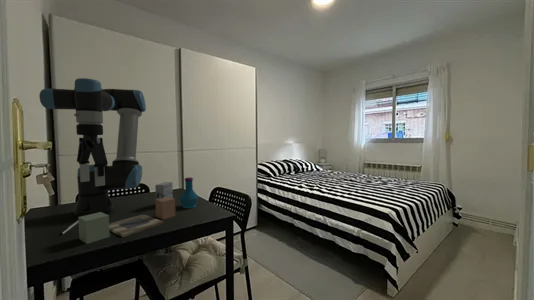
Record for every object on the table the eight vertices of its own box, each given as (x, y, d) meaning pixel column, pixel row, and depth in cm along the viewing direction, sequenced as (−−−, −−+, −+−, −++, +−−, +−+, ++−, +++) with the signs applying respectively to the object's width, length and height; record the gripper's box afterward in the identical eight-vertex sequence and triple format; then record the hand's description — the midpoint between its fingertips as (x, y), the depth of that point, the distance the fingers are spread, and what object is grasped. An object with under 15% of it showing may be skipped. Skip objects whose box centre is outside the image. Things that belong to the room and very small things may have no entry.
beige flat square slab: (104, 227, 95) (103, 224, 95) (143, 216, 108) (143, 214, 108) (122, 237, 86) (122, 234, 86) (163, 223, 99) (163, 221, 99)
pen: (58, 236, 87) (57, 234, 87) (81, 219, 105) (80, 217, 105) (61, 236, 87) (60, 233, 87) (83, 219, 105) (83, 216, 105)
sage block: (79, 238, 85) (78, 217, 84) (101, 232, 90) (100, 212, 90) (86, 244, 81) (85, 221, 80) (109, 236, 86) (108, 215, 86)
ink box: (165, 202, 131) (164, 181, 130) (173, 202, 130) (173, 181, 129) (155, 206, 123) (154, 184, 122) (163, 207, 122) (163, 185, 121)
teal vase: (191, 202, 130) (190, 175, 129) (202, 205, 125) (201, 177, 124) (176, 206, 123) (175, 178, 122) (187, 210, 117) (186, 180, 117)
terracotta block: (155, 216, 108) (155, 199, 107) (167, 213, 113) (167, 196, 112) (163, 219, 104) (162, 201, 104) (175, 215, 109) (175, 198, 109)
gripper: (64, 124, 87) (67, 181, 88) (91, 122, 73) (94, 189, 74) (88, 125, 93) (90, 178, 94) (117, 123, 79) (119, 185, 80)
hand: (92, 183), depth 84 cm, fingers open, 13 cm apart
